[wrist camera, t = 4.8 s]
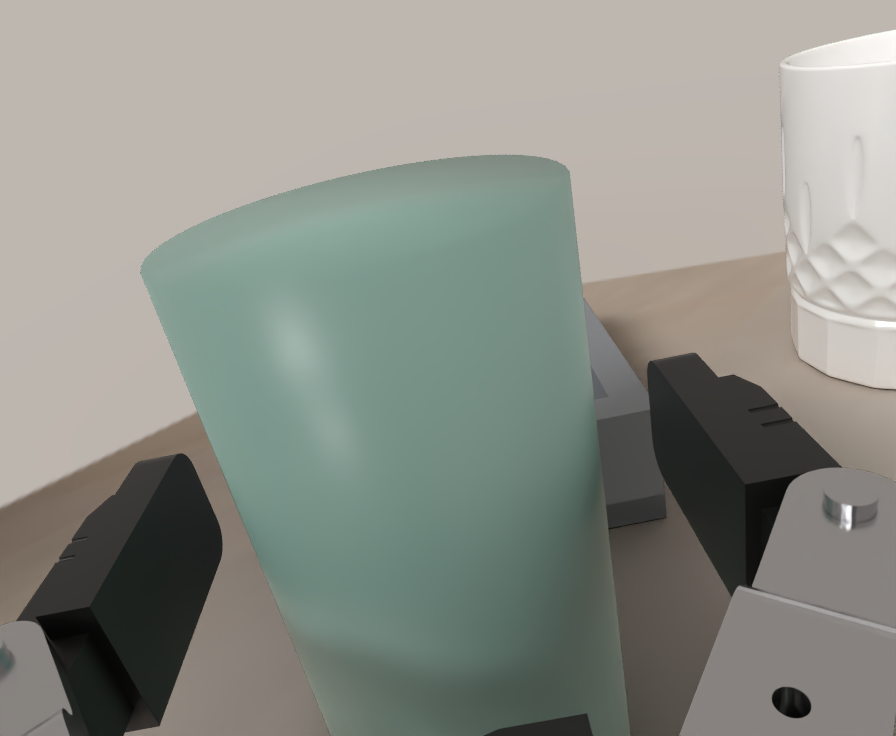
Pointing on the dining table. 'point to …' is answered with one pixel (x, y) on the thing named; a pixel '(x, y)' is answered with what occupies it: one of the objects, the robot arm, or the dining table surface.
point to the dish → (623, 433)
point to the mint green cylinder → (412, 439)
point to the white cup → (842, 206)
